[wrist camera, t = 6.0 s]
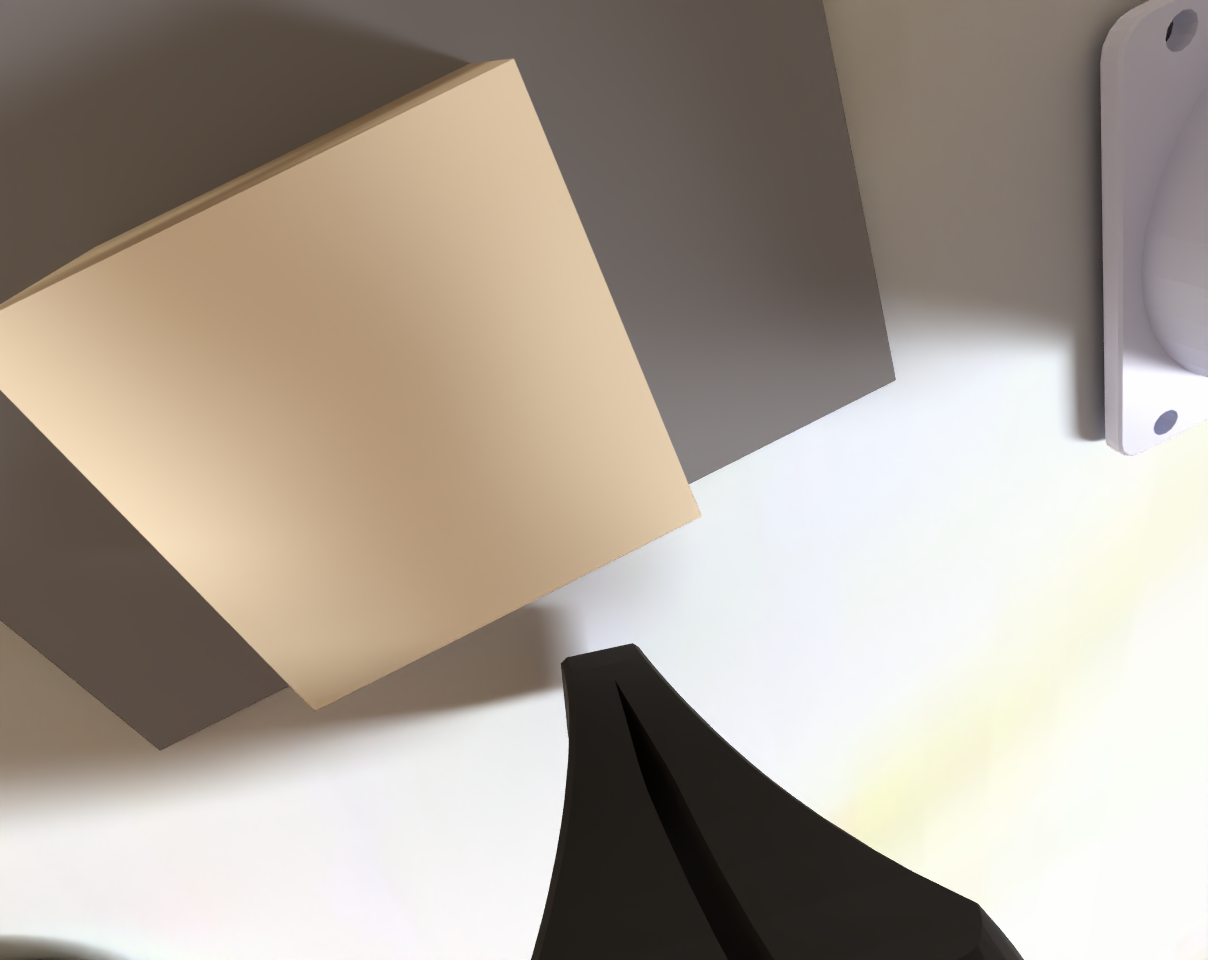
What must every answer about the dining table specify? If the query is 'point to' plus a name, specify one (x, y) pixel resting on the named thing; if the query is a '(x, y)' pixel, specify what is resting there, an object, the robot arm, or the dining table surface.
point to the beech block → (360, 387)
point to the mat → (351, 90)
